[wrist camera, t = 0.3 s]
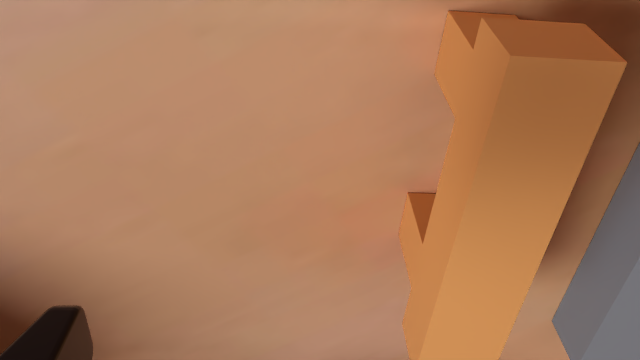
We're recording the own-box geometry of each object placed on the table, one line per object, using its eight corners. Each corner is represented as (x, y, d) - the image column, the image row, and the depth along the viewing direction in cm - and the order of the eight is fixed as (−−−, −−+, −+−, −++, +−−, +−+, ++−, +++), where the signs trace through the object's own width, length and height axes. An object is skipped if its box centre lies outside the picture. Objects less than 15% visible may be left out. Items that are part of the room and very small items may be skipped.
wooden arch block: (450, 256, 27) (490, 377, 22) (387, 255, 27) (413, 377, 22) (534, -22, 19) (627, 62, 14) (448, -29, 19) (510, 56, 14)
